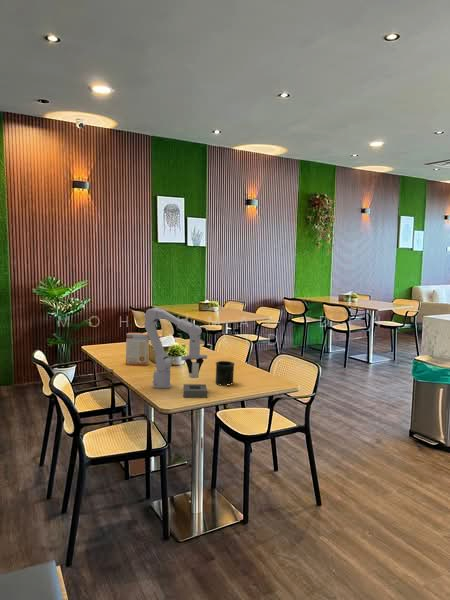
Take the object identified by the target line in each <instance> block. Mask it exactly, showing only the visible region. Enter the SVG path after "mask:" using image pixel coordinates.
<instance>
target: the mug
mask: <svg viewBox="0 0 450 600" xmlns="http://www.w3.org/2000/svg"><path fill="white" fill-rule="evenodd" d="M215 366H216V368H215V384H216V383H217V384H216V385H218V384H221V385H220V386H222V385H227V384H231V383H233V384H234V374H235V372H234V370H235V369H234V367H235V362H232V361H228V360H227V361H226V360H221V361H217V362H215Z"/></svg>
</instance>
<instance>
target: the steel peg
mask: <svg viewBox="0 0 450 600" xmlns="http://www.w3.org/2000/svg"><path fill="white" fill-rule="evenodd" d="M199 375H200V371H199V363H198V362H196V361H192V371H191V373H189V372H188V377H189V378H190V379H198V378H199Z"/></svg>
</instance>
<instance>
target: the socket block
mask: <svg viewBox="0 0 450 600" xmlns="http://www.w3.org/2000/svg"><path fill="white" fill-rule="evenodd" d="M183 391H184V392H183V398H197V397H207V398H208V388H207V384H204V383H203V384H202V383H201V384H199V383H198V384H197V383H196V384H195V383H194V384H193V383H192V384H191V383H190V384H189V383H187V384H186V383H183Z"/></svg>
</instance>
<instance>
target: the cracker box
mask: <svg viewBox="0 0 450 600" xmlns="http://www.w3.org/2000/svg"><path fill="white" fill-rule="evenodd" d="M125 338H126V339H125V340H126V342H125V346H126V347H125V365H127V366H144V367H147V366H148V365H149V361H150V360H149V358H150V339H149V336H148V334H147V332H145V333H144V332H128V333H127V332H126V337H125Z"/></svg>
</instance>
